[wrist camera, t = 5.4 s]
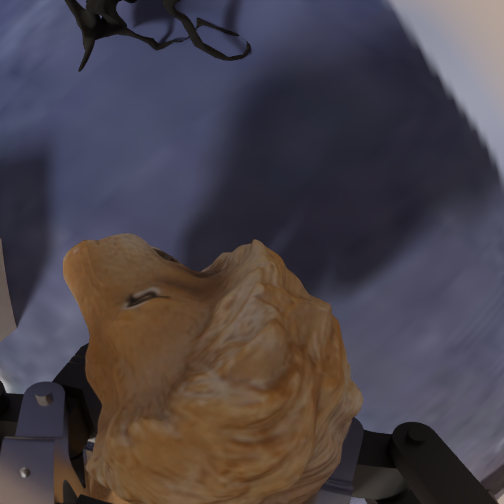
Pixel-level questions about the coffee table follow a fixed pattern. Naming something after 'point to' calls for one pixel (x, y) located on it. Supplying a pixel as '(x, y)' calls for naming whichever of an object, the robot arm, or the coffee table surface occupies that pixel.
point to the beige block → (5, 302)
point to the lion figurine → (209, 376)
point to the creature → (111, 23)
